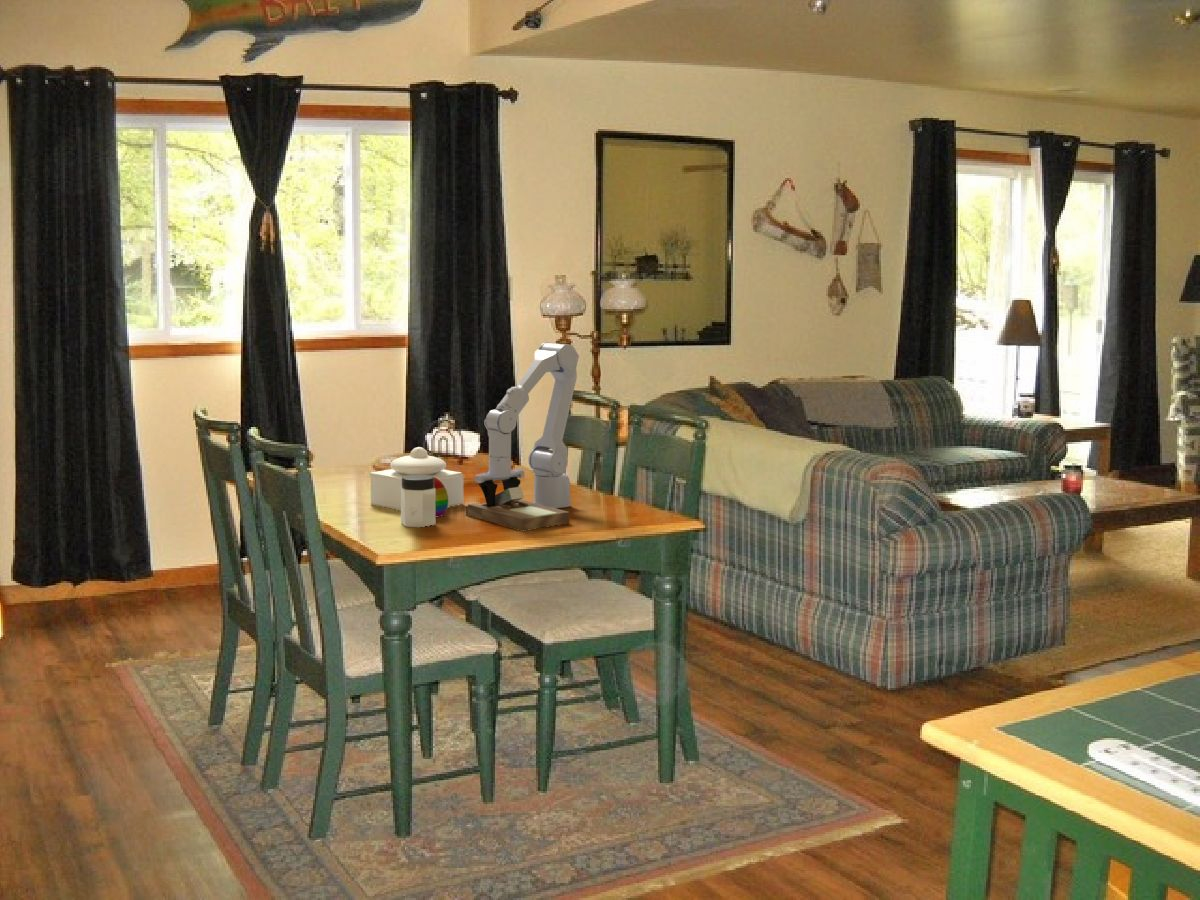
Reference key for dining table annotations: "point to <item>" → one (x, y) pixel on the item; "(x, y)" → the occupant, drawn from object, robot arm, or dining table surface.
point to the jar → (418, 501)
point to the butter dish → (418, 462)
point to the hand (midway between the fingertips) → (499, 507)
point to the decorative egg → (440, 497)
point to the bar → (508, 496)
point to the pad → (533, 511)
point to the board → (517, 515)
